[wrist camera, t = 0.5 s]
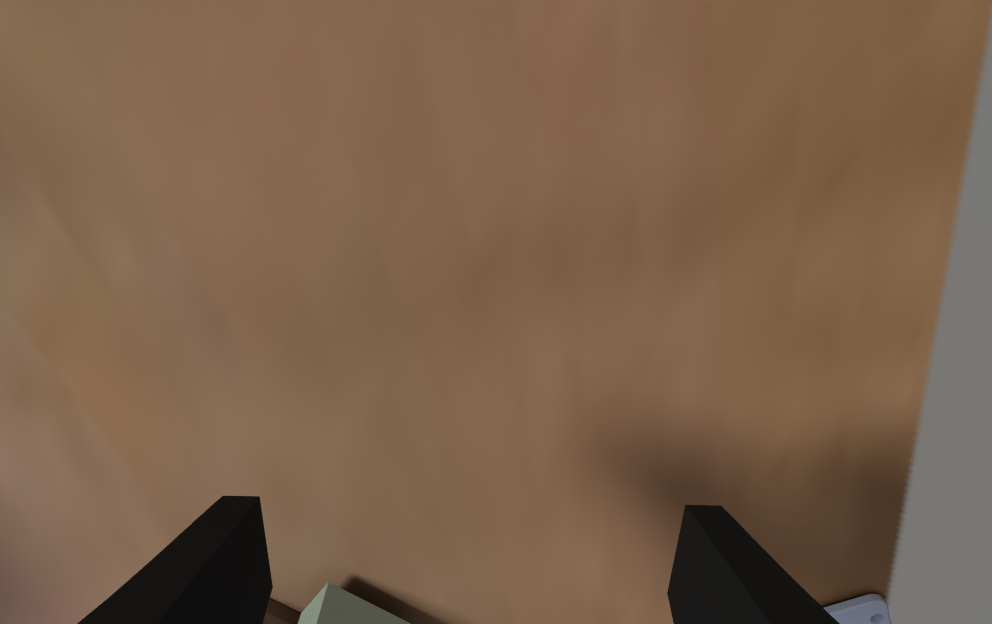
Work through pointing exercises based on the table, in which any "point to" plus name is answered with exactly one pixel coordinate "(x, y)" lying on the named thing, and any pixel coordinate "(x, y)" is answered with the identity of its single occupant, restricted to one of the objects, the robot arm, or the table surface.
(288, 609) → the tub
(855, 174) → the table surface
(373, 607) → the lid
